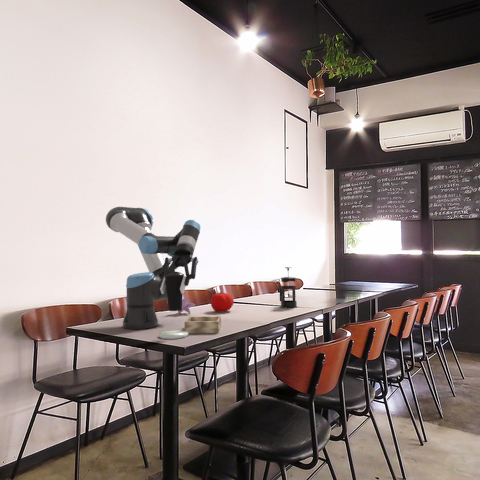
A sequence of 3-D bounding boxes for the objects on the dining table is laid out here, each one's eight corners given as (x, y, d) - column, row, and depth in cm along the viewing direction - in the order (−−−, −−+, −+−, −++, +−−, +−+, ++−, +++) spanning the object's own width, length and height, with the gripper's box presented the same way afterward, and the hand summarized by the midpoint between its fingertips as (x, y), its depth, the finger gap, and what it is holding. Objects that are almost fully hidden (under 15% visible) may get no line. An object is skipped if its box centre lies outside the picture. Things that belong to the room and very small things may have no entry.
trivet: (156, 339, 154) (156, 336, 154) (162, 333, 165) (162, 330, 165) (185, 339, 154) (185, 335, 154) (190, 333, 165) (190, 330, 165)
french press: (301, 307, 238) (300, 267, 238) (290, 308, 232) (289, 267, 232) (286, 305, 247) (285, 266, 247) (275, 306, 241) (274, 267, 241)
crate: (184, 333, 165) (184, 321, 165) (189, 327, 179) (189, 316, 179) (218, 332, 165) (218, 321, 165) (221, 326, 179) (220, 316, 179)
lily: (197, 316, 215) (198, 299, 220) (181, 310, 207) (182, 292, 212) (181, 321, 221) (183, 305, 226) (165, 315, 214) (166, 298, 219)
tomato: (212, 310, 231) (212, 291, 231) (234, 309, 231) (234, 290, 231) (209, 313, 218) (209, 293, 218) (232, 313, 217) (232, 293, 218)
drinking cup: (176, 308, 165) (174, 258, 165) (189, 309, 160) (187, 257, 161) (161, 311, 159) (159, 258, 160) (174, 312, 154) (172, 258, 155)
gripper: (210, 254, 173) (199, 297, 157) (165, 255, 177) (149, 297, 161) (206, 241, 168) (194, 284, 152) (160, 243, 172) (143, 285, 156)
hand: (171, 291), depth 156 cm, fingers closed on drinking cup, 7 cm apart
